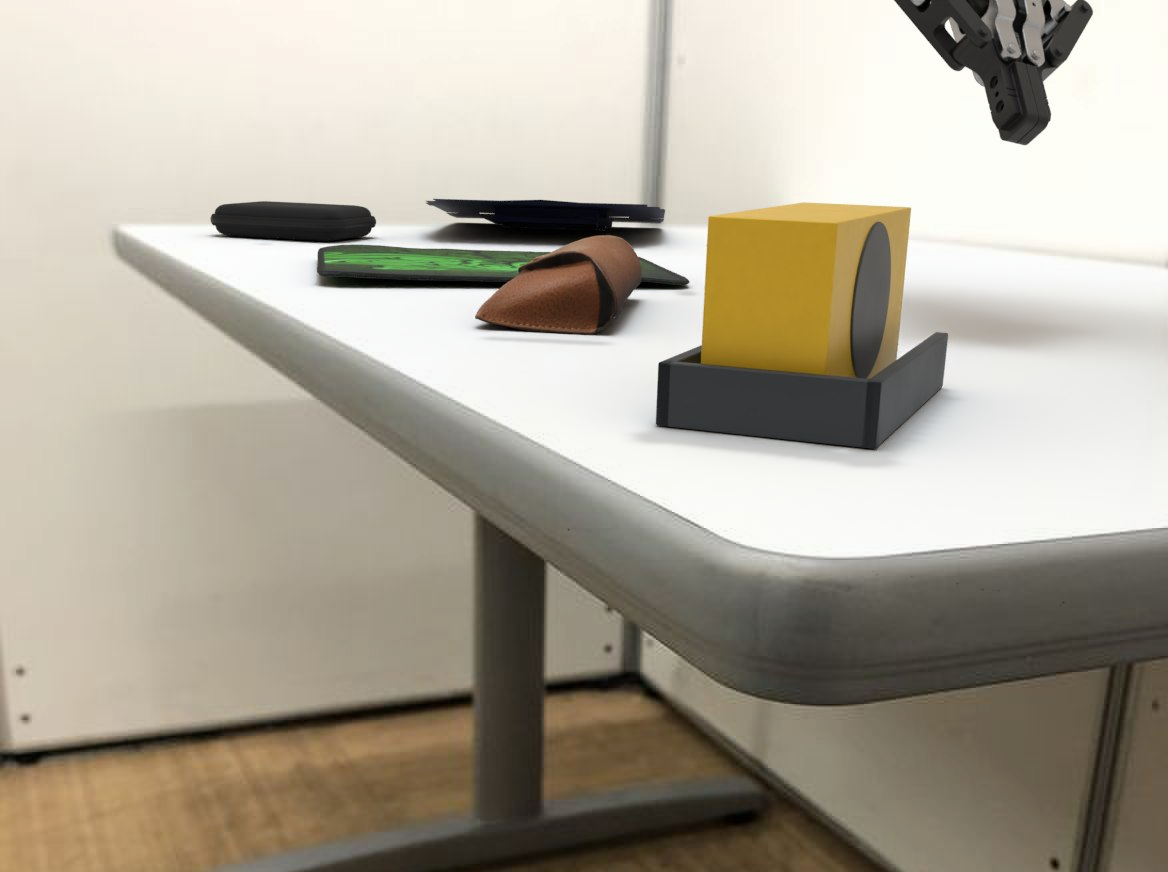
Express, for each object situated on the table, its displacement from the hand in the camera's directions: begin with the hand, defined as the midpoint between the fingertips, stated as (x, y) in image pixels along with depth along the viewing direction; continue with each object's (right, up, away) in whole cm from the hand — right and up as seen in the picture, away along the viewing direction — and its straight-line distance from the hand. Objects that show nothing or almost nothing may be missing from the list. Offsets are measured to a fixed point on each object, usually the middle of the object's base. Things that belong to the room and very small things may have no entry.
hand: (1025, 133), depth 75 cm
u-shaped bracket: (-14, -16, -14) cm, 26 cm away
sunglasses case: (-25, -7, +13) cm, 29 cm away
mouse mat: (-30, +1, +35) cm, 46 cm away
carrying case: (-51, +11, +64) cm, 83 cm away
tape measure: (-14, -16, -14) cm, 26 cm away
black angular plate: (-26, +14, +74) cm, 80 cm away
